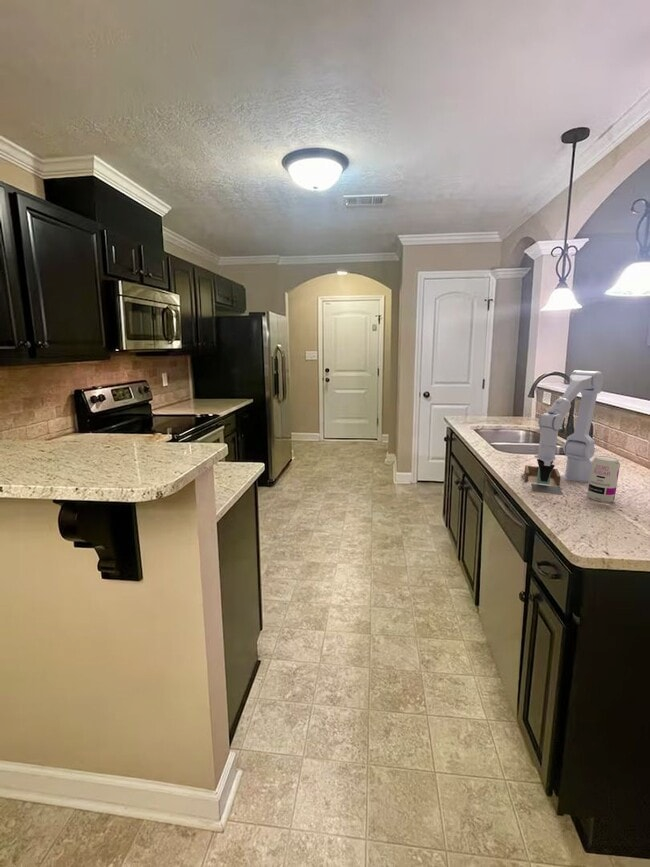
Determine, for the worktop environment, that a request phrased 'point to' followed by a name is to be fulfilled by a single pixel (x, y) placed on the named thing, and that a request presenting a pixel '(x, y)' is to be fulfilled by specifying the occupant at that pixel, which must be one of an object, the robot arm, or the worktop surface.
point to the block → (540, 478)
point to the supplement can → (603, 478)
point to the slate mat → (546, 489)
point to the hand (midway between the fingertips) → (543, 479)
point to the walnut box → (532, 474)
